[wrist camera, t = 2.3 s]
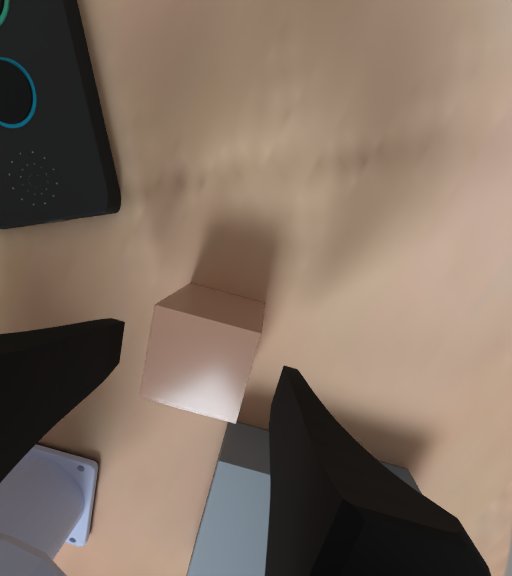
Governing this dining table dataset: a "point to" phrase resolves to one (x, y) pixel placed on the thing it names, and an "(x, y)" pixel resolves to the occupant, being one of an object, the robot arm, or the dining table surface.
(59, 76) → the smart home device
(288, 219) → the dining table surface
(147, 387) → the pale pink cube
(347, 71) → the dining table surface
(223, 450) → the base board
